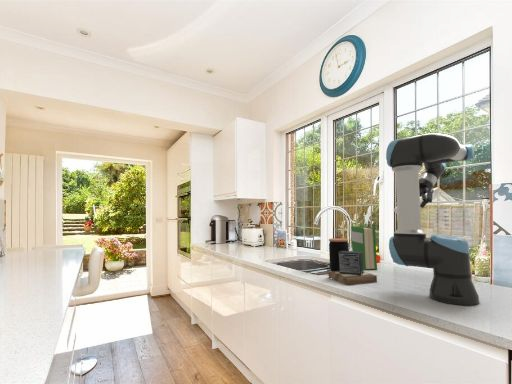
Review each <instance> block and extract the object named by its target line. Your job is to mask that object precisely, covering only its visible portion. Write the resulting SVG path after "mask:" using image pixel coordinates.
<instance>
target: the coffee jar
mask: <svg viewBox="0 0 512 384" xmlns="http://www.w3.org/2000/svg"><path fill="white" fill-rule="evenodd" d="M328 242H329V244H328V249H329V251H328V252H329V253H328V254H329V255H328V256H329V271H330V272H332V271H339V254H338V252H340V251H350V250H349V249H350V248H349V247H350V246H349V239H348V238H345V237H344V238H342V237H341V238H329V239H328Z"/></svg>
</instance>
